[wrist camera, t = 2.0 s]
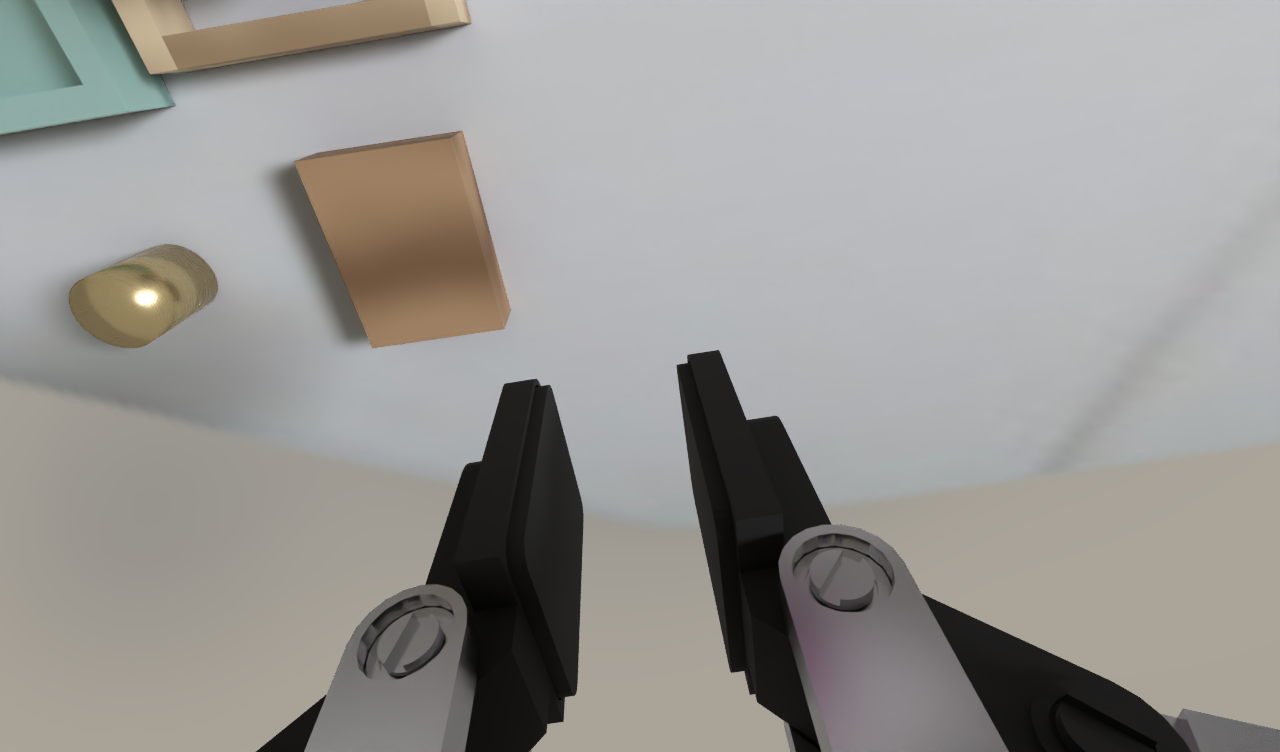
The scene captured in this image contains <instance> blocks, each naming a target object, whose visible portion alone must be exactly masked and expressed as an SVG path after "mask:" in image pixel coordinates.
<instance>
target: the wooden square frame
mask: <svg viewBox="0 0 1280 752" xmlns="http://www.w3.org/2000/svg"><path fill="white" fill-rule="evenodd" d="M112 2H113V4H114V6H115V8H116V10H117V12H118V14H119V15H120V17H121V19H122V21H123V23H124V25H125V27H126V29H127V31H128V33H129V35H130V37H131V39H132V41H133V42H134V44H135V46H136V48H137V50H138V52H139V54H140V56H141V58H142V60H143V62H144V64H145V66H146V68H147V69H148V71H149V73H150V74H166V73H183V72H191V71H197V70H203V69H209V68H215V67H220V66H226V65H232V64H238V63H244V62H250V61H255V60H261V59H267V58H273V57H279V56H285V55H290V54H296V53H302V52H308V51H314V50H320V49H326V48H331V47H337V46H343V45H349V44H355V43H361V42H366V41H372V40H378V39H384V38H390V37H396V36H401V35H407V34H413V33H419V32H425V31H431V30H436V29H442V28H448V27H454V26H460V25H466V24H472V23H471V19H470V15H469V12H468V8H467V4H466V0H369V1H364V2H358V3H352V4H346V5H340V6H335V7H329V8H323V9H317V10H312V11H306V12H300V13H294V14H288V15H283V16H277V17H271V18H265V19H259V20H254V21H248V22H242V23H236V24H231V25H225V26H219V27H213V28H207V29H202V30H196V31H195V30H194V28H193V26H192V24H191V22H190V19H189V17H188V15H187V13H186V11H185V9H184V7H183V4H182V2H181V0H112Z"/></svg>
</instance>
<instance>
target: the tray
mask: <svg viewBox="0 0 1280 752" xmlns="http://www.w3.org/2000/svg"><path fill="white" fill-rule="evenodd" d="M170 106H176V105H175V103H174V101H173V100H172V98H171V96H170V94H169V92H168V90H167V88H166V86H165V84H164V82H163V80H162V78H161V76H160V74H150V73H149V71H148V69H147V68H146V66H145V64H144V62H143V60H142V58H141V56H140V54H139V52H138V50H137V48H136V46H135V44H134V42H133V41H132V39H131V37H130V35H129V33H128V31H127V29H126V27H125V25H124V23H123V21H122V19H121V17H120V15H119V14H118V12H117V10H116V8H115V6H114V4H113V2H112V0H0V135H5V134H11V133H17V132H23V131H29V130H35V129H41V128H46V127H52V126H58V125H64V124H70V123H76V122H82V121H88V120H93V119H99V118H105V117H111V116H117V115H123V114H129V113H135V112H140V111H146V110H152V109H158V108H164V107H170Z"/></svg>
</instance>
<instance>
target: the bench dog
mask: <svg viewBox="0 0 1280 752" xmlns="http://www.w3.org/2000/svg"><path fill="white" fill-rule="evenodd" d="M217 290H218V284H217V279H216V277H215V274H214V272H213V271H212V269H211V268H210V266H209V265H208V264H207V263H206V262H205V261H204V260H203V259H202V258H201V257H200V256H198V255H197V254H196V253H194V252H192V251H191V250H188V249H186V248H184V247H181V246H177V245H171V244H165V245H159V246H156V247H153V248H151V249H149V250H147V251H144V252H142V253H140V254H138V255H135V256H133V257H131V258H129V259H126V260H124V261H122V262H120V263H117V264H115V265H113V266H111V267H108V268H106V269H104V270H102V271H99V272H97V273H95V274H93V275H90V276H88V277H86V278H84V279H81V280H79V281H78V282H76V283H75V284H74V285H73V287H72V288H71V291H70V294H69V304H70V307H71V310H72V312H73V314H74V316H75V318H76V319H77V321H78V322H79V323H80V324H81V325H82V326H83V327H84V328H85V329H86V330H87V331H88V332H89V333H91V334H92V335H93V336H95V337H96V338H98V339H100V340H102V341H104V342H106V343H108V344H111V345H114V346H118V347H123V348H138V347H142V346H145V345H147V344H148V343H150V342H152V341H153V340H155V339H156V338H158V337H159V336H161V335H162V334H164V333H165V332H167V331H168V330H170V329H172V328H173V327H175V326H176V325H178V324H179V323H181V322H182V321H184V320H185V319H187V318H188V317H190V316H191V315H193V314H195V313H196V312H198V311H199V310H201V309H202V308H204V307H205V306H207V305H208V304H210V303H211V302H212V301H213V300H214V299H215V297H216V294H217Z"/></svg>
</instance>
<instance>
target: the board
mask: <svg viewBox="0 0 1280 752" xmlns="http://www.w3.org/2000/svg"><path fill="white" fill-rule="evenodd" d="M294 164H295V166H296V169H297V171H298V173H299V176H300V178H301V180H302V183H303V185H304V187H305V190H306V192H307V195H308V197H309V199H310V202H311V204H312V206H313V209H314V211H315V214H316V216H317V218H318V221H319V223H320V225H321V228H322V230H323V233H324V235H325V237H326V240H327V242H328V244H329V247H330V249H331V251H332V254H333V256H334V259H335V261H336V263H337V266H338V268H339V270H340V273H341V275H342V278H343V280H344V282H345V285H346V287H347V289H348V292H349V294H350V296H351V299H352V301H353V304H354V306H355V308H356V311H357V313H358V315H359V318H360V320H361V323H362V325H363V327H364V330H365V332H366V334H367V337H368V339H369V341H370V344H371V346H372V348H377V347H384V346H391V345H398V344H405V343H412V342H418V341H425V340H432V339H439V338H446V337H453V336H459V335H466V334H473V333H480V332H487V331H494V330H501V329H504V328H505V325H506V323H507V320H508V317H509V314H510V311H511V309H510V305H509V301H508V298H507V294H506V290H505V287H504V283H503V279H502V275H501V272H500V268H499V264H498V261H497V257H496V253H495V250H494V246H493V242H492V238H491V235H490V231H489V227H488V224H487V220H486V216H485V212H484V209H483V205H482V201H481V198H480V194H479V190H478V187H477V183H476V179H475V175H474V172H473V168H472V164H471V161H470V157H469V153H468V149H467V146H466V142H465V138H464V135H463V131H458V132H451V133H445V134H438V135H432V136H425V137H419V138H412V139H405V140H399V141H392V142H386V143H379V144H373V145H366V146H359V147H353V148H346V149H340V150H333V151H326V152H320V153H316V154H313V155H311V156H308V157H305V158H303V159H300V160H297V161H295V162H294Z"/></svg>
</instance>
